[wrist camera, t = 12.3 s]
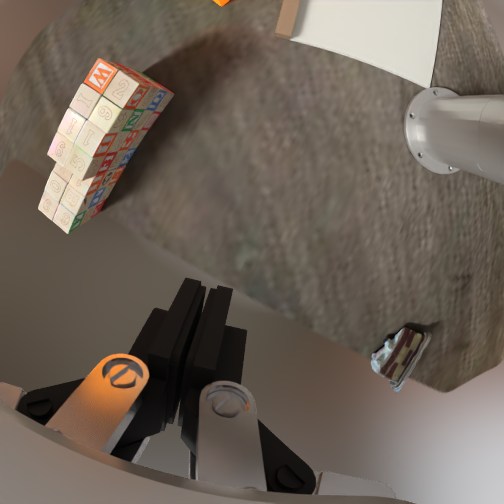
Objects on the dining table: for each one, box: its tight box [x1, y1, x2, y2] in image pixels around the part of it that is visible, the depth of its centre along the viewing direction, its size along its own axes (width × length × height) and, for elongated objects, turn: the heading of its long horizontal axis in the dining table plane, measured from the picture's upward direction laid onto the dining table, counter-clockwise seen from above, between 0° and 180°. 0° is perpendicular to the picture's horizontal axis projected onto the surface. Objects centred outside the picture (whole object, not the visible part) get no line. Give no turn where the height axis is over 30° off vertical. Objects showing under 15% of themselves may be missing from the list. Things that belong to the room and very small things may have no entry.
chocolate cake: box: [371, 327, 431, 394], centre depth 49 cm, size 10×7×12 cm
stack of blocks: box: [38, 58, 174, 233], centre depth 34 cm, size 21×6×12 cm, turn 142°
